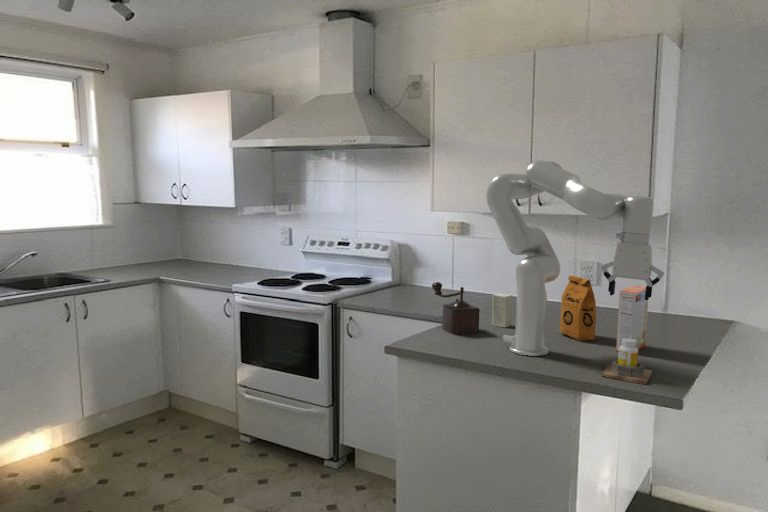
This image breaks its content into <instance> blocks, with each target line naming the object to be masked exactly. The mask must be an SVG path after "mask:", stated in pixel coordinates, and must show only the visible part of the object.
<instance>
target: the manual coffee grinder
mask: <svg viewBox="0 0 768 512" xmlns="http://www.w3.org/2000/svg"><path fill="white" fill-rule="evenodd" d="M431 288H432V289H433V291H434V295H435V296H438V297H441V298H452V297H457V296H459V295H460V298H459V299H458V298H455V301H453V302H450V303H443V305H442V322H441V323H442V324H441V329H443V330H444V331H445V332H447V333H448V334H451V335H454V336H457V335H458V336H460V335H473V334H479V330H480V329H479V327H480V308H479V307H477V306H475V305H473V304H471V303H468V302H467V301H465V300H464V292H465V291H464V290H465V289H464V287H463V286H461V287H460V290H459V292H456V293H451V294H450V293H449V294H445V295H444V294H443V291H442V288H443V284H442V283H441V282H439V281H437V282H433V283H432V285H431Z"/></svg>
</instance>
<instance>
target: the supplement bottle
mask: <svg viewBox="0 0 768 512" xmlns="http://www.w3.org/2000/svg"><path fill="white" fill-rule="evenodd" d="M622 344H623V345H621V346H620V347H619V351H617V353H618V356H617V360H618V364H619V365H621V366H627V367H637V362H638V359H639V350H638V348H637V347H635V346H636V345H637V341H636V340H634V339H630V338H624V339H622Z"/></svg>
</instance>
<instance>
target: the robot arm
mask: <svg viewBox="0 0 768 512" xmlns="http://www.w3.org/2000/svg"><path fill="white" fill-rule="evenodd" d="M544 192H546V193H547V194H549V195H552V196H554V197H556V198H558V199H561V200H562V201H564V202H565V203H566V204H568V205H569V206H570V207H572V208H574V209H576V210H577V211H579V212H581V213H584V214H585V215H588V216H590V217H592V218H594V219H597V220H602V221H608V220H609V221H611V220H622V228H621V229H622V230H621V232H619V233H616V235H615V238H616V239H619V240H620V241H619V242H617V244H616V247H615V251H614V256H613V261H610V262H607V263H605V264H603V265H601V266H600V269H601V272H602V273H603V276H604V277H605V278H606V280H607V281H608V288H607V289H608V290H607V292H608V293H609V296H613V295H615V293H616V292H615V291H616V280H615V279H616V278H624V279H632V280H639V281H644V282H645V283H646V286H645V287H646V291H645V300H648V301H649V299H650V298H652V293H653V287H654V286H655V285H656V284H658V283H659V282H660V280H662V278H663V277H664V275H665V272H664V271H662V270H661V269H659V268H658V267H656V266H655V265H653V264H652V263H653V262H652V261H653V260H652V259H653V257H652V255H653V253H652V245H651V244H650V235H651V225H652V217H653V208H654V201H653V199H652V198H651V197H649V196H640V195H624V194H620V193H604V192H601V191H599V190H597V189H594V188H593V187H589V186H587V185H586V184H585V183H583V181H581V178H580V176H579V175H577V174H574V173H572V172H571V171H568V170H565V169H563V168H562V166H561V164H559V163H557V162H555V161H551V160H535V161H533V162H530V164H528V166H527V167H526V169H525V172H523V173H502V174H499V175H496V176H495V177H494V178H492V179H491V181H490V182H489V184H488V186H487V190H486V202H487V206H488V209H489V211H490V213H491V214H492V215H491V216H492V217H493V218H494V220H495V222H496V224H497V226H498V229H499V231H500V233H501V236H502V237H503V238H502V239H503V240H504V242H505V245H506V247H507V248H508V250H509V252H510V253H511V254H513V255H516V256H525V255H526V257H524V258H522V259H521V260H519V262H518V263H517V265H516V267H515V268H516V269H515V279H516V311H515V326H514V328H515V330H514V331H515V332H514V335H509V334H503V336H502V341H504V342H506V343H510V345H509V350H510V352H512V353H514V354H518V355H521V356H527V355H528V356H531V357H541V355H542V356H546V355H548V353H549V348H548V347H547V346H545V335H546V320H547V319H546V318H547V317H546V316H547V299H548V298H547V297H548V296H547V290H546V283H551V282H554V281H555V280H557V279H558V277H559V275H560V274H561V265H560V261H559V259H558V257H557V255H556V253H555V251H554V248H553V246H552V244H551V241H550V240H549V238H548V235H546V233H545V231H543V230H542V228H540V227H538V226H536V225H528V224H527V223H526V220H525V219H524V218H523V215H522V213H521V211H520V210H519V208H518V207H517V205H516V204H515V203H514V202H513V200H525V199H528V198H531V197H533V196H536V195H539V194H541V193H544ZM611 267H612V272H611V273H612V275H611V273H610V272H609V270H608V268H611ZM652 272H653V273H655V274H656V275H657V276H656V277H655V278H654V279H652V278H651V275H652Z"/></svg>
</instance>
